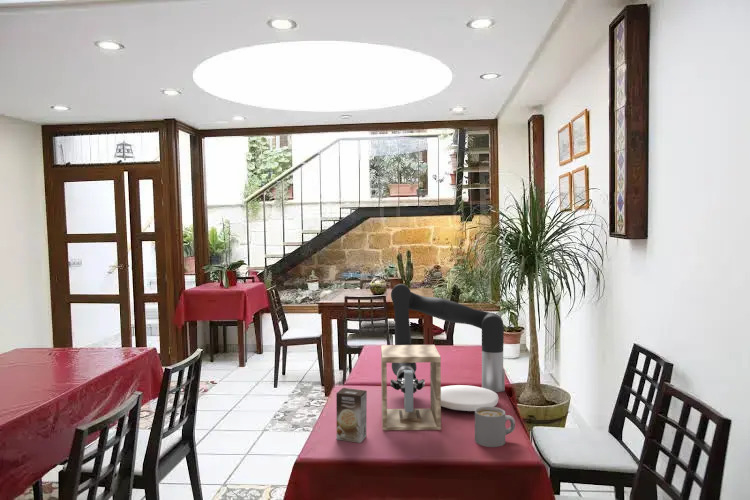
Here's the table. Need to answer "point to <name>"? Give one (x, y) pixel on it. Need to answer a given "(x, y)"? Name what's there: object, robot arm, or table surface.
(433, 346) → the shelf
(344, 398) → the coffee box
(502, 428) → the coffee mug
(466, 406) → the plate
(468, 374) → the table surface
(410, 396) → the grey block
